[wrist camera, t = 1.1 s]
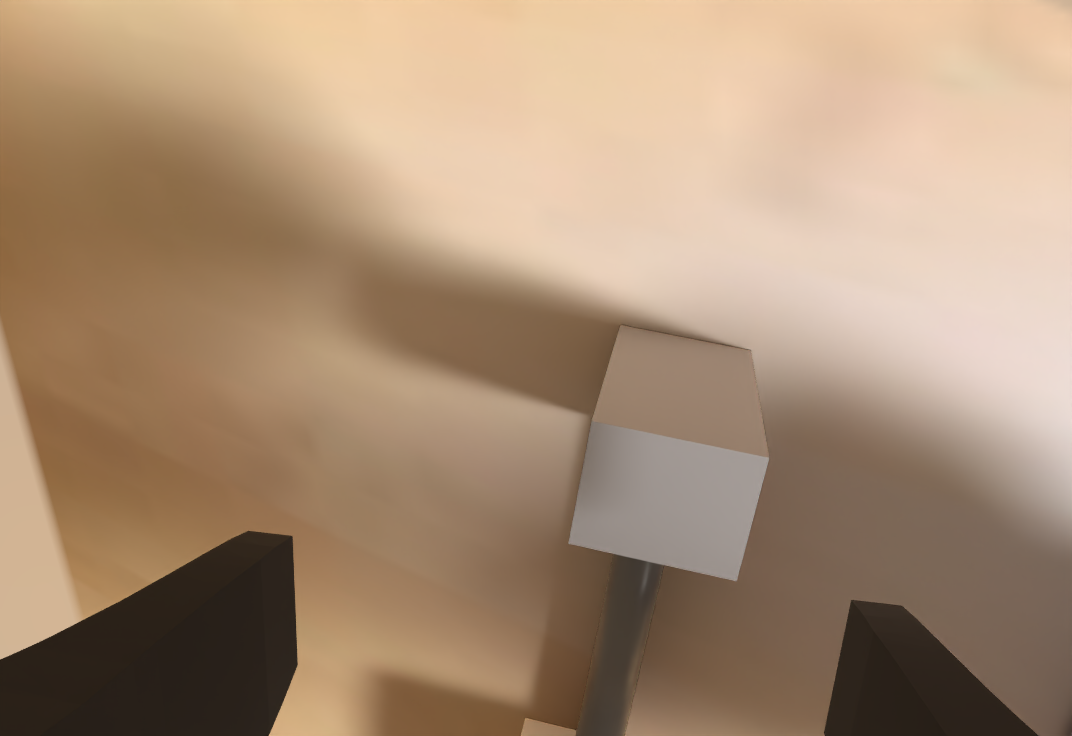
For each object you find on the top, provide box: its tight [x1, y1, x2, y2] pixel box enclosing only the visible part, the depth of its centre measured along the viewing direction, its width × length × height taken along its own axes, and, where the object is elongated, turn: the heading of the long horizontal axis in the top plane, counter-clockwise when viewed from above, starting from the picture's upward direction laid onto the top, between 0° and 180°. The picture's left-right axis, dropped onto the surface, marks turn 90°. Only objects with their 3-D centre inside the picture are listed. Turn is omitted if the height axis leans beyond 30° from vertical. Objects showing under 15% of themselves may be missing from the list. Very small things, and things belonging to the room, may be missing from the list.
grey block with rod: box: [521, 325, 769, 736], centre depth 21 cm, size 4×16×6 cm, turn 171°
